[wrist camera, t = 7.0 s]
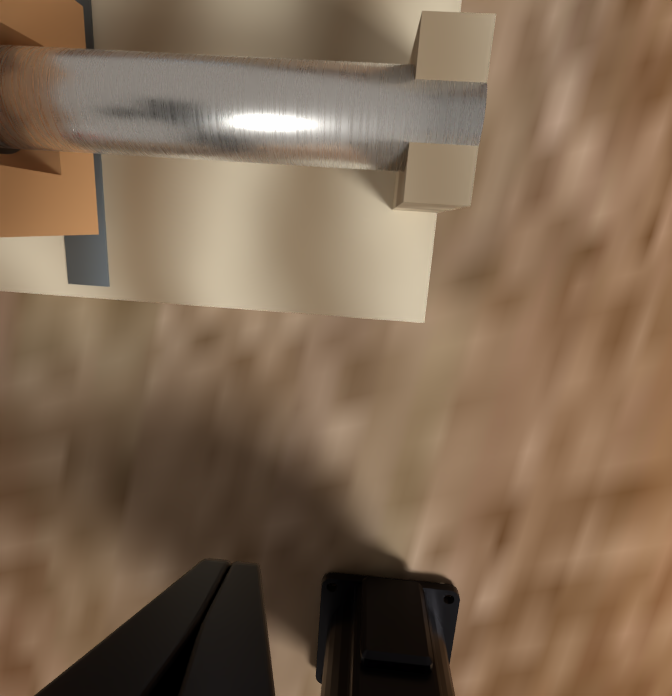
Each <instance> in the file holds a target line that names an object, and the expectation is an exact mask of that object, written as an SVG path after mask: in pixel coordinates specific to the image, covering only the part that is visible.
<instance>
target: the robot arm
mask: <svg viewBox="0 0 672 696" xmlns="http://www.w3.org/2000/svg"><path fill="white" fill-rule="evenodd" d="M329 583H335V584H336V585H333V586H332V585H330V584H329ZM446 595H451V597H445V596H446ZM459 602H460V598H459V593H458V590H457V588H456V587H454V586H453V585H450V584H441V583H431V582H422V581H412V580H402V579H392V578H383V577H373V576H363V575H353V574H344V573H334V572H333V573H328V574H326V575H325V576H324V577H323V581H322V591H321V606H320V621H319V636H318V651H317V666H316V679H317V681H318V682H319V683H321V684H322V687H321V696H455V693H454V688H453V682H452V677H451V672H450V666H449V664H450V657H451V651H452V645H453V639H454V633H455V627H456V621H457V614H458V608H459ZM34 696H275V689H274V681H273V672H272V664H271V656H270V647H269V639H268V630H267V622H266V613H265V605H264V596H263V588H262V579H261V571H260V566H259V565H258V564H257V563H249V562H239V561H236V562H234V563H231V562H230V561H228V560H220V559H210V558H208V559H204V560H202V561H201V562H200V563H198V564H197V565H196V566H195V567H193V568H192V569H191V570H190V571H188V572H187V573H186V574H185V575H183V576H182V577H181V578H180V579H178V580H177V581H176V582H175V583H173V584H172V585H171V586H170V587H168V588H167V589H166V590H165V591H164V592H162V593H161V594H160V595H159V596H157V597H156V598H155V599H154V600H152V601H151V602H150V603H149V604H147V605H146V606H145V607H144V608H142V609H141V610H140V611H139V612H137V613H136V614H135V615H134V616H132V617H131V618H130V619H129V620H128V621H126V622H125V623H124V624H123V625H121V626H120V627H119V628H118V629H116V630H115V631H114V632H113V633H111V634H110V635H109V636H108V637H106V638H105V639H104V640H103V641H101V642H100V643H99V644H98V645H96V646H95V647H94V648H93V649H92V650H90V651H89V652H88V653H87V654H85V655H84V656H83V657H82V658H80V659H79V660H78V661H77V662H75V663H74V664H73V665H72V666H70V667H69V668H68V669H67V670H65V671H64V672H63V673H62V674H60V675H59V676H58V677H57V678H56V679H54V680H53V681H52V682H51V683H49V684H48V685H47V686H46V687H44V688H43V689H42V690H41V691H39V692H38V693H37V694H36V695H34Z"/></svg>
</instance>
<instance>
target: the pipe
mask: <svg viewBox="0 0 672 696" xmlns="http://www.w3.org/2000/svg"><path fill="white" fill-rule="evenodd" d="M486 97H487V83H483V82H463V81H443V80H423V79H416V66H415V65H412V64H391V63H371V62H350V61H329V60H308V59H288V58H267V57H246V56H226V55H205V54H184V53H163V52H143V51H122V50H101V49H81V48H60V47H39V46H18V45H0V154H13V153H16V152H18V151H20V150H21V149H28V150H45V151H62V152H79V153H95V154H112V155H129V156H146V157H163V158H179V159H196V160H213V161H230V162H247V163H263V164H280V165H297V166H314V167H330V168H347V169H364V170H381V171H398V172H404V170H405V166H406V161H407V155H408V148H409V142H418V143H436V144H453V145H471V146H479V142H480V138H481V133H482V128H483V122H484V115H485V108H486Z"/></svg>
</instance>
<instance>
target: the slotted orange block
mask: <svg viewBox="0 0 672 696" xmlns="http://www.w3.org/2000/svg"><path fill="white" fill-rule="evenodd" d="M0 45H18V46H39V47H60V48H81V49H86V42H85V27H84V13H83V6H82V5H80V4H79V3H78V2H77V1H75V0H0ZM97 234H99V229H98V215H97V200H96V186H95V172H94V157H93V153H79V152H62V151H45V150H28V149H21V150H20V151H18V152H16V153H13V154H0V237H30V236H63V235H97Z"/></svg>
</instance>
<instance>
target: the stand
mask: <svg viewBox="0 0 672 696" xmlns="http://www.w3.org/2000/svg"><path fill="white" fill-rule="evenodd" d="M75 1H77V2H78V3H79V4H80V5H82V6H83V13H84V27H85V42H86V49H101V50H122V51H143V52H163V53H184V54H205V55H226V56H246V57H267V58H288V59H308V60H329V61H350V62H371V63H391V64H412V65H415V66H416V79H423V80H443V81H463V82H483V83H487V79H488V71H489V64H490V56H491V49H492V41H493V34H494V27H495V19H496V14H488V13H464V12H460V10H461V2H462V0H75ZM477 154H478V146H471V145H453V144H436V143H418V142H409V148H408V155H407V161H406V166H405V170H404V172H398V171H381V170H364V169H347V168H330V167H314V166H297V165H280V164H263V163H247V162H230V161H213V160H196V159H179V158H163V157H146V156H129V155H112V154H95V153H93V157H94V172H95V186H96V200H97V215H98V229H99V234H97V235H63V236H30V237H0V291H7V292H21V293H34V294H47V295H61V296H74V297H87V298H101V299H114V300H127V301H140V302H154V303H167V304H180V305H194V306H207V307H220V308H233V309H247V310H260V311H273V312H287V313H300V314H313V315H327V316H340V317H353V318H366V319H380V320H393V321H406V322H420V323H424V321H425V313H426V304H427V295H428V287H429V278H430V269H431V261H432V252H433V244H434V235H435V226H436V218H437V213H439V212H444V211H449V210H454V209H459V208H464V207H469V206H471V199H472V191H473V184H474V176H475V169H476V161H477Z"/></svg>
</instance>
